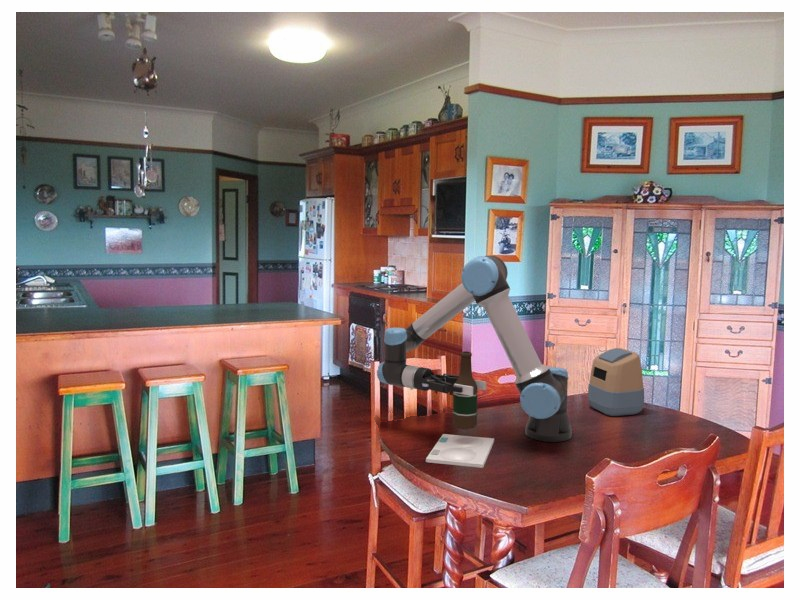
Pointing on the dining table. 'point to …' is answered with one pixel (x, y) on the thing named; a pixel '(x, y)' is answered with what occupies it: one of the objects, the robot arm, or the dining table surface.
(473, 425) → the beer bottle
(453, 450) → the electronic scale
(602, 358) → the tan tapered boxy piece
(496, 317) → the robot arm
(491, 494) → the dining table surface
